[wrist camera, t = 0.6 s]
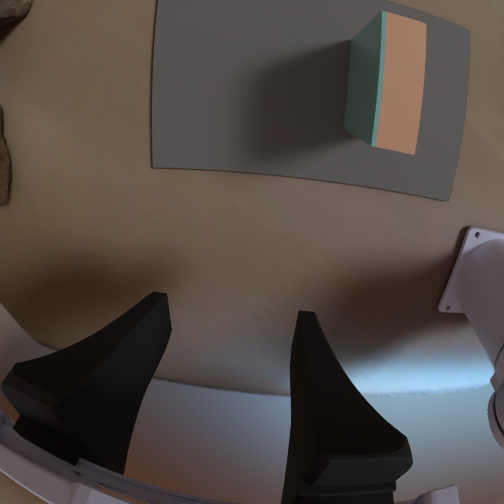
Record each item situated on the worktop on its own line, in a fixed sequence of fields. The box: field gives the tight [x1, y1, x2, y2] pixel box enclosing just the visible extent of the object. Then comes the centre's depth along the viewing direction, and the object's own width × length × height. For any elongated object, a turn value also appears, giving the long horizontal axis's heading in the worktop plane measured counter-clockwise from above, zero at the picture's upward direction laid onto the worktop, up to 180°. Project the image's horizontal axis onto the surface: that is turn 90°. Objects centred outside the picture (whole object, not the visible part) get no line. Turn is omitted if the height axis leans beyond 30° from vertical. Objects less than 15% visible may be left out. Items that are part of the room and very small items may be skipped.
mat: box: [152, 0, 470, 202], centre depth 16 cm, size 21×13×1 cm, turn 87°
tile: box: [344, 11, 426, 155], centre depth 13 cm, size 2×6×7 cm, turn 177°
